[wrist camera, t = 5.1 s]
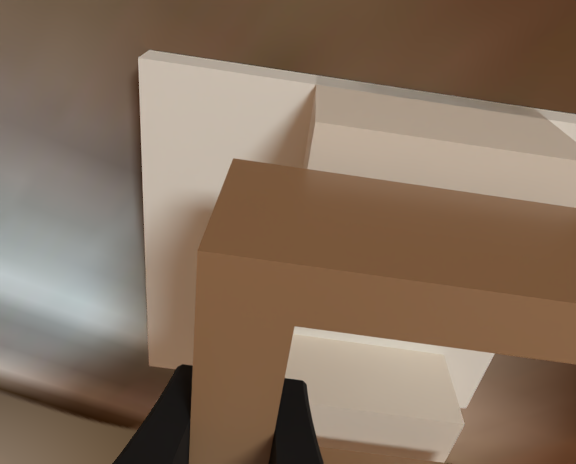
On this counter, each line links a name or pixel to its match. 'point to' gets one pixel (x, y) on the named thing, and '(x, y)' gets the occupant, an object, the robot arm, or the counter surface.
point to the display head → (344, 160)
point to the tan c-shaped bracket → (362, 287)
